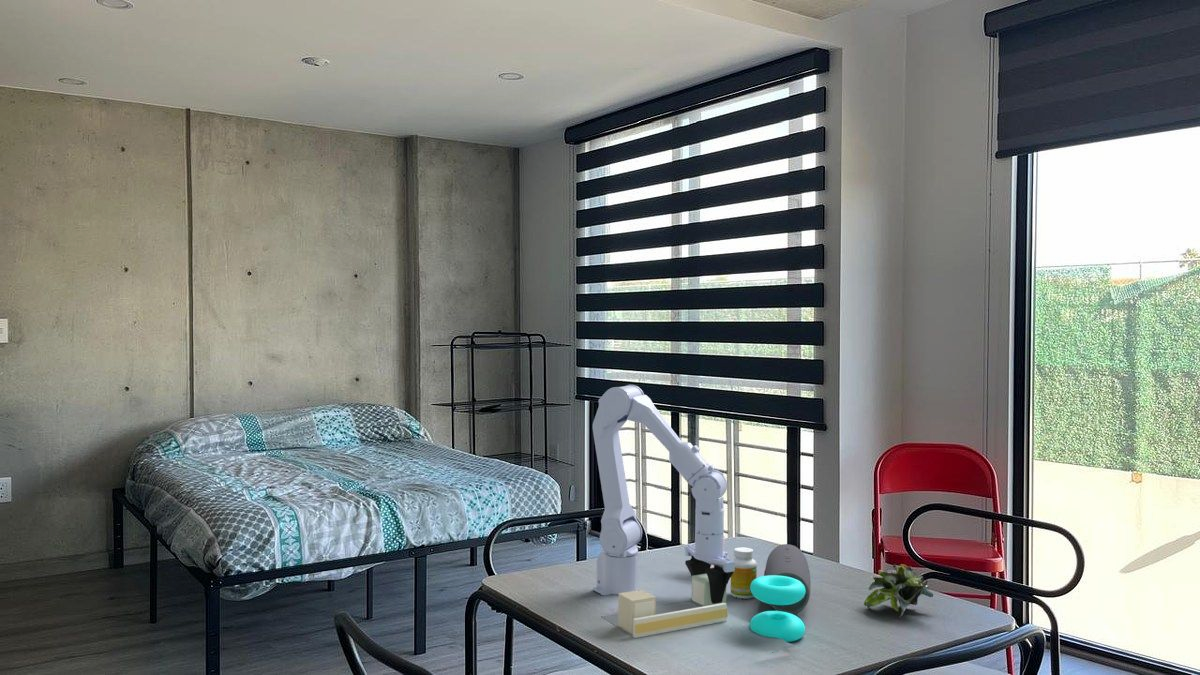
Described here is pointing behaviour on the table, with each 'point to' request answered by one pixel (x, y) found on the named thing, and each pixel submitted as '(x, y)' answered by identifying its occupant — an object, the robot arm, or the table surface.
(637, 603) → the beige block
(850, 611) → the table surface
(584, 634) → the table surface
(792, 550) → the bluetooth speaker
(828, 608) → the table surface
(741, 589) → the supplement bottle
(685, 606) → the shelf board
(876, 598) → the green leafy plant
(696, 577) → the sage carton
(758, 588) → the donuts
